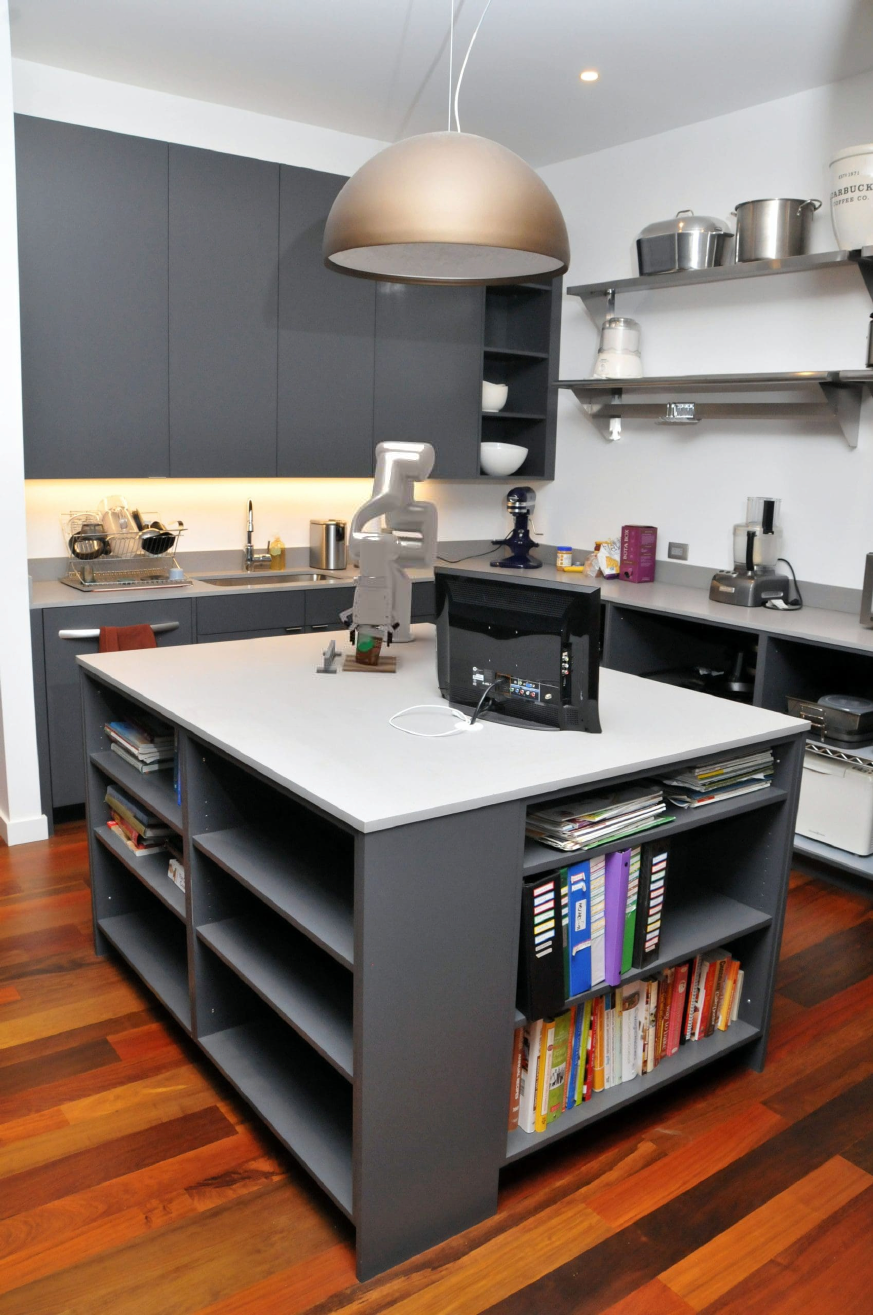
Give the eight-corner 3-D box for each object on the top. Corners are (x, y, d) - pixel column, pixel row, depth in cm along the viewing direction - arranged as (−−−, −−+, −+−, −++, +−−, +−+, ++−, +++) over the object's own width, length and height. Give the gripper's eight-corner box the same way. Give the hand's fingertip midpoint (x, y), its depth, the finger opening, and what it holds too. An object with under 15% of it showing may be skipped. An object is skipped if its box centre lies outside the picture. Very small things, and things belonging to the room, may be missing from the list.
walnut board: (346, 656, 280) (346, 654, 280) (396, 658, 281) (396, 656, 281) (342, 670, 263) (342, 668, 263) (395, 673, 263) (395, 670, 263)
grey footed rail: (323, 653, 283) (324, 639, 282) (341, 654, 283) (342, 640, 282) (316, 672, 259) (316, 657, 259) (335, 673, 260) (336, 658, 259)
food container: (346, 654, 276) (352, 619, 274) (367, 657, 278) (373, 622, 276) (356, 664, 264) (362, 627, 263) (378, 667, 266) (384, 630, 265)
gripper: (339, 582, 263) (337, 646, 267) (405, 585, 264) (402, 649, 267) (341, 579, 270) (339, 641, 274) (405, 581, 271) (403, 644, 275)
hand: (370, 645), depth 271 cm, fingers open, 9 cm apart
